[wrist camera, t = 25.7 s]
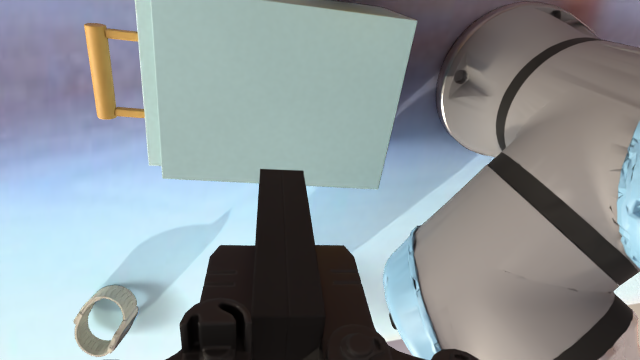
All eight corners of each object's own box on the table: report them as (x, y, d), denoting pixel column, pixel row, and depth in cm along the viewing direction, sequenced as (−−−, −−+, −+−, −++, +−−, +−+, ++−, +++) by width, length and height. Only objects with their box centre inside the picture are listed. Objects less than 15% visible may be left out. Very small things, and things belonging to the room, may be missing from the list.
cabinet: (183, 133, 39) (162, 178, 31) (177, -21, 32) (149, -16, 24) (355, 145, 42) (378, 189, 34) (382, 7, 35) (417, 20, 27)
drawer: (119, 127, 37) (90, 162, 30) (102, -23, 31) (60, -18, 24) (336, 142, 40) (350, 176, 34) (357, 11, 34) (380, 23, 28)
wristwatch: (124, 337, 51) (111, 372, 47) (73, 325, 49) (54, 360, 45) (148, 290, 48) (137, 323, 43) (94, 275, 46) (77, 307, 41)
